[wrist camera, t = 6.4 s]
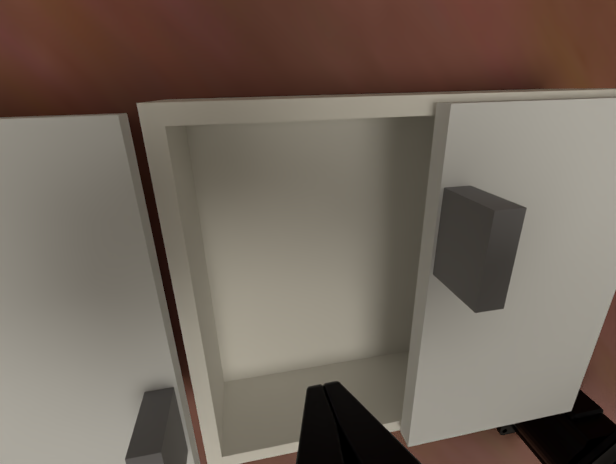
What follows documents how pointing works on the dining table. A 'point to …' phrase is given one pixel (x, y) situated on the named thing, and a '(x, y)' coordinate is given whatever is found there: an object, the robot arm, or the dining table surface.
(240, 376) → the carton
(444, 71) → the dining table surface
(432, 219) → the flap
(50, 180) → the flap
